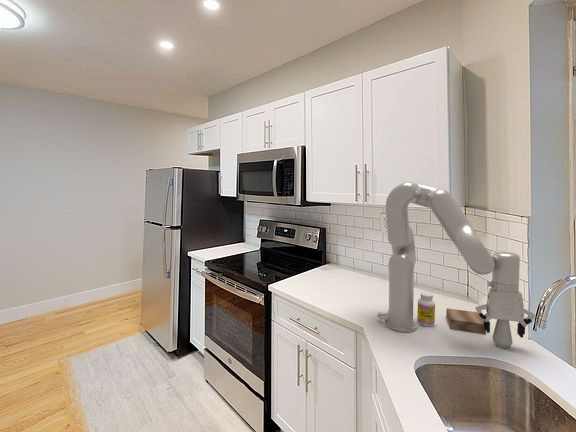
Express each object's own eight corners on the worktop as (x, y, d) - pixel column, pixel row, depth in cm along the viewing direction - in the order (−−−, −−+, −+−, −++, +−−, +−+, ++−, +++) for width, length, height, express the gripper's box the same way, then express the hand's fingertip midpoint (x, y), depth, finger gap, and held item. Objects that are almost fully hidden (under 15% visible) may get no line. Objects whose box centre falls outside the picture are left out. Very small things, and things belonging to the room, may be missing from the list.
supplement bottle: (417, 325, 116) (418, 295, 115) (416, 318, 122) (417, 290, 122) (435, 328, 114) (436, 297, 113) (433, 321, 120) (434, 292, 119)
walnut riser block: (450, 329, 113) (451, 319, 113) (446, 317, 124) (446, 308, 124) (485, 334, 108) (486, 324, 108) (478, 321, 119) (478, 312, 119)
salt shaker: (503, 341, 103) (505, 307, 102) (516, 350, 97) (518, 314, 96) (488, 342, 103) (489, 308, 102) (500, 350, 97) (502, 314, 96)
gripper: (478, 287, 98) (477, 334, 99) (540, 293, 91) (538, 343, 93) (473, 281, 105) (472, 325, 106) (531, 286, 98) (529, 332, 100)
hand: (503, 333), depth 99 cm, fingers open, 9 cm apart
